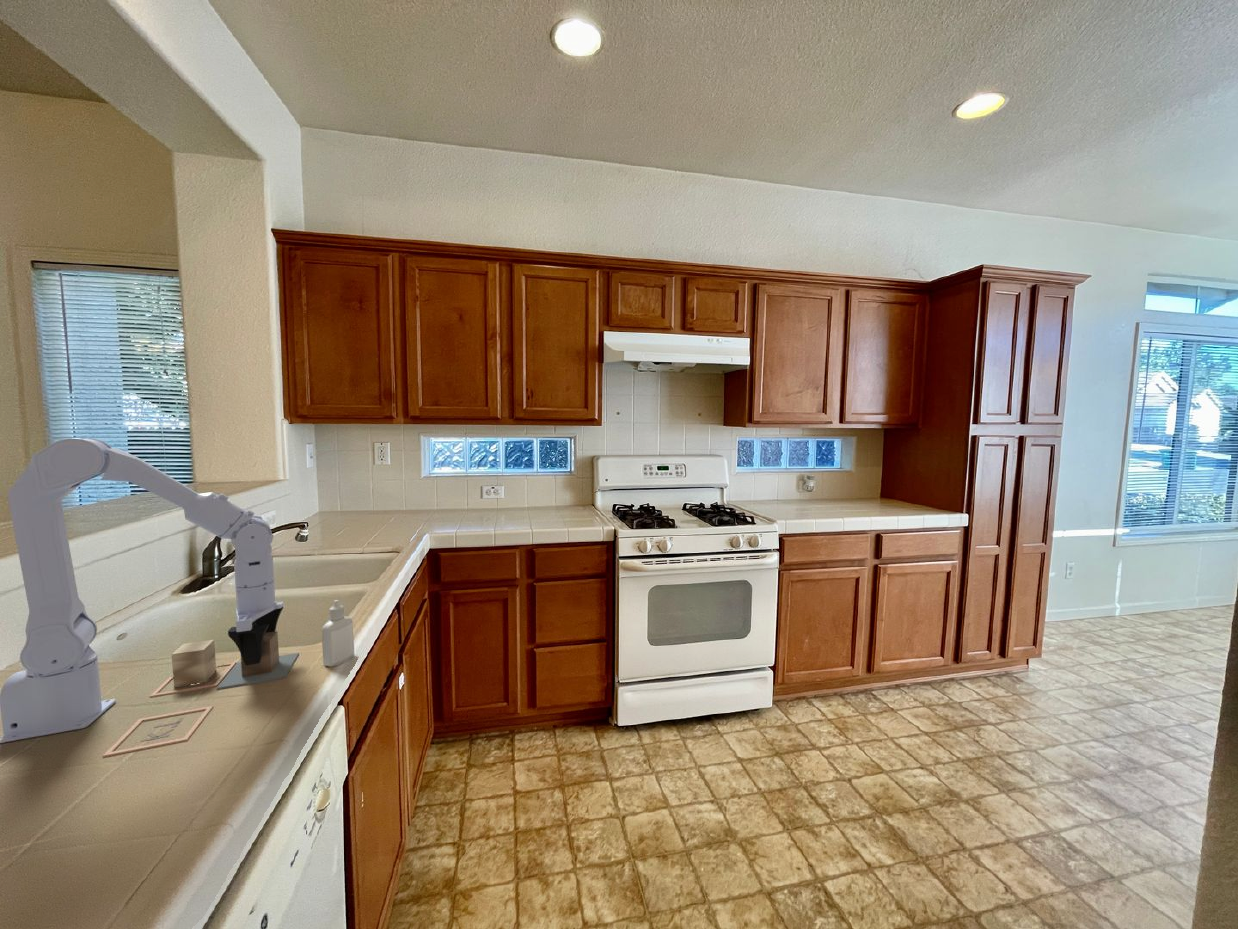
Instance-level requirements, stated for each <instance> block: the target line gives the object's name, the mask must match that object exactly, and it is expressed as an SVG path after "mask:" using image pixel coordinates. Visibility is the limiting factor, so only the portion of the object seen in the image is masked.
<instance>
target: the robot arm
mask: <svg viewBox="0 0 1238 929" xmlns="http://www.w3.org/2000/svg"><path fill="white" fill-rule="evenodd" d="M99 476H102V477H101V480H102V481H110V482H112V481H113V482H128V483H132V484H134V485H135V486H137V487H139V488H141V489H144V490H146V491H148V492H149V493H151V494H154V495H155V496H157V497H159V498H162V499H163V500H165V501H168V502H170V503H171V504H173V505H176V506H177V507H180V508H182V509H183V511H184V513H183V514H184V518H185V520H186V521H188V522H190V523H192V524H194V525H196V526H198V527H200V528H201V529H203V530H206V531H207V532H209V533H211V534H213V535H215V536H216V537H218V538H219V539H223V540H225V539H226V540H227V539H229V540H230V541H231V544H232V546H233V548H235V549H234V550H235V552H234V553H235V559H234V562H233V568H234V569H233V570H234V583H235V584H234V585H235V586H234V587H235V596H236V598H235V599H236V609H235V616H236V619H237V620H236V621H235V626H231V627H230V628H229V629H227V635H228V637H229V638H230V639H231V640H232V641H233V642H234V644H235V645H236V647H237V648H238V650H239V653H240V657H241V656H242V659H243V661H244V663H245V665H252V664H258V663H260V661H261V657H262V648H263V640H264V636H265V633H268V632H276V631H277V626H278V621H279V618H280V615H281V613H282V611H283V609H284V601H279V602H278V601H276V589H275V574H274V572H275V571H274V557H273V555H272V552H273V549H272V546H271V543H272V542H273V540H274V534H273V533H272V530H271V526H270V524H269V523H268V522H267V521H266V520H265V519H264V518H262V517H261V516H259V515H255V512H253V511H252V510H248V511H247V510H244V509H243V508H241V507H239V506H238V505H236V504H234V503H232V502H231V501H228V500H229V496H227V495H226V494H225V493H219V494H217V493H215V492H212V491H211V492H210V491H209V492H202V493H198V492H196V491H195V490H193V489H191V488H190V487H188V486H186V485H185V484H183V483H182V482H180V481H179V480H176V479H175V478H174V477H172V476H170V475H168V473H165V472H164V471H161V470H160V469H159V468H156V467H155V466H153V465H152V464H150V463H148V462H146V461H145V460H143V459H142V458H139V457H137V456H135V455H133V454H131V453H129V452H127V451H125V450H123V449H120V448H118V447H111V445H109V444H108V443H107V442H105V441H103V440H101V439H97V438H93V437H82V438H81V437H80V438H79V437H78V438H77V437H76V438H75V437H69V438H64V439H60V440H56V441H54V442H52V443H50V444H49V445H47V446H46V447H44V448H42V449H40V450H39V451H37V452H36V453H34V454H33V455H32V457H31V459H30V460H29V463H28V465H26V467H25V469H23V471H22V473H21V474H20V475H19V476H18V478H16V480H15V482H14V483H13V484H12V486H11V487H10V488H9V490H8V492H7V501H8V505H9V506H8V507H9V512H10V516H11V517H10V518H11V521H12V527H13V532H14V538H15V541H16V542H15V543H16V548H17V554H18V557H19V558H18V559H19V564H20V569H21V576H22V579H23V585H24V590H25V595H26V599H27V600H26V601H27V607H28V615H27V616H28V617H27V621H26V624H25V629H24V630H25V631H24V632H25V636H26V641H25V644H24V646H23V647H22V649H21V651H20V654H19V660H20V663H21V665H22V667H23V668H24V670H20V671H17V672H14V673H13V674H12V675H10V676H9V677H8V678H6V680H5V682H4V683H3V685H2V688H1V690H0V714H1V715H0V716H1V725H2V726H1V727H2V737H1V738H0V744H2V743H7V742H13V741H18V740H19V741H20V740H25V739H31V738H37V737H41V736H47V735H53V734H58V733H63V732H70V731H75V730H81V729H85V728H87V727H88V726H89V725H91V724H92V723H93V722H94V721H96V719H97V718H99V717H100V716H101V715H103V713H104V712H106V711H107V710H108V709H109V708H110V707H112V705H114V704H116V702H117V700H116V698H112V699H105V700H102V693H101V692H102V691H101V681H100V680H101V678H100V671H99V670H100V669H99V658H98V657H99V656H98V655H99V654H98V653H97V652H96V651H95V650H94V649H92V647H91V646H90V644H92V642H93V641H94V640H95V638H96V636H97V633H98V626H97V624H96V622H95V621H94V620H93V619H92V618H90V616H89V615H88V613H87V611H86V608H85V605H84V603H83V601H82V600H81V599H80V597H79V594H78V593H79V592H78V587H77V582H76V576H75V571H74V566H73V565H74V564H73V559H72V554H71V548H70V544H69V537H68V531H67V526H66V520H65V514H64V509H63V504H62V500H63V499H64V498H66V497H67V496H68V495H69V494H71V493H72V492H73V491H74V490H76V489H77V488H78V487H79V486H81V484H83V483H85V482H87V481H89V480H90V481H91V480H92V479H94V478H96V477H99Z"/></svg>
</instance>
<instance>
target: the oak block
mask: <svg viewBox="0 0 1238 929" xmlns="http://www.w3.org/2000/svg"><path fill="white" fill-rule="evenodd" d="M215 646H216V645H215V639H208V640H201V641H194V642H186V643H182V645H181V646H179V647H178V648H177V649H176V650H174V652H172V654H171V663H172V674H173V679H172V680H173V688H179V687H181V686H187V685H191V684H197V683H201V684H203V683H202V682H205V683H207V682H208V681H209V680H210V679H211V677H212V676H213V675H214V674H215V673H216V672H217V667H216V665H217V662H216V648H215ZM215 671H216V672H215ZM209 678H210V679H209Z"/></svg>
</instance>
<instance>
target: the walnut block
mask: <svg viewBox="0 0 1238 929" xmlns="http://www.w3.org/2000/svg"><path fill="white" fill-rule="evenodd" d="M278 635H279V634H278V631H277V630H276V631H275V632H268V633H265V636H264V640H263V648H262V657H261V661H260V663H258V664H252V665H245V663H244V661H243V659H242V656H241V655H240V662H241V668H242V677H245V676H251V675H258V674H264V673H271V672H272V671H273V670H274V668H275V667H276V665H277V664H278V662H279V656H280V652H279V638H278Z"/></svg>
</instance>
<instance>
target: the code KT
mask: <svg viewBox="0 0 1238 929" xmlns="http://www.w3.org/2000/svg"><path fill="white" fill-rule="evenodd" d="M213 708H214V706H213V705H210V706H209V705H208V706H203V707H198V708H194V709H188V710H182V711H175V712H171V713H166V714H158V715H154V716H149V717H142V718H139V719H137V721H136V722H135V723H134V724H132V726H131V727H130V728H129V729H128V730H127V731H126V732H125V733H123V735H121V737H119V739H118V740H116V742H114V744H113V745H112V746H110V748H109V749H107V751H106V752H105V753H104V754H102V758H108V757H113V756H118V755H124V754H127V753H134V752H137V751H138V752H139V751H143V750H148V749H153V748H158V747H159V748H160V747H163V746H168V745H173V744H177V743H183V742H187V741H188V740H189V739H190V738H191V737H192V735H193V734H194V733H195V732H196V730H197V729H198V728H199V726H200V725H201V724H202V723H203V721H204V720H205V718H206V717H207V716H208V715H209V713H210V712H211V711H212V710H213ZM198 712H203V713H202V714H201V716H200V717H198V719H197V720H196V722H195V723H194V724H193V725H192V726H191V728H190V729H189V731H188V732H187V733H186V734H185V736H183V737H180V738H175V739H171V740H167V741H161V742H155V743H150V744H146V745H140V746H135V747H134V746H133V747H129V748H125V749H118V747H119V746H121V745H122V743H123V742H125V740H126V739H127V738H128V737H130V735H131V734H132V733H133V732H134V731H135V730H136V729H137V728H138V727H139V726H140V725H141V724H142V723H143V722H147V721H149V722H150V721H155V720H159V719H164V718H166V719H167V718H169V717H176V716H181V715H186V714H187V715H189V714H191V713H198ZM183 719H184V717H180V718H179V719H177V720H176V721H174V722H168V723H162V724H158V725H155V726H154V729H155V728H161V727H166V726H167V727H168V726H172V728H170V729H169V730H166V731H165V732H162V733H160V734H158V735H157V734H155V733H154V732H150V733H148V734H147V735H148V736H149V737H148V738H143V739H142V740H141V743H142V742H148V741H154V740H158V739H162V738H167V737H169V736H170V734H169V733H170V732H172V731H174V730H175V729H173V728H176V727H178V725H179V724H180V723H181V722H182V721H183ZM116 749H118V750H116Z"/></svg>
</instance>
